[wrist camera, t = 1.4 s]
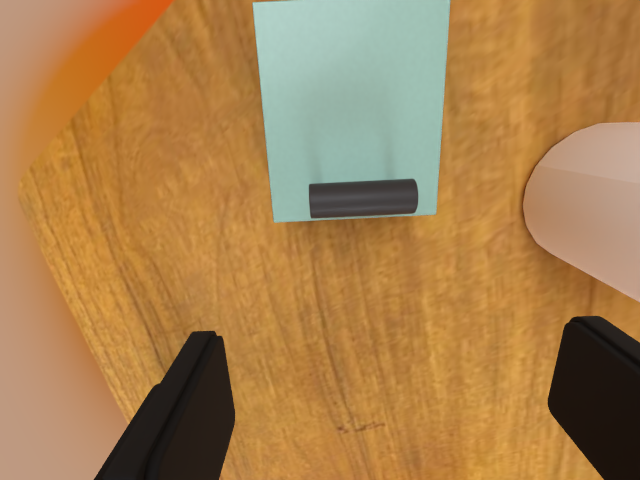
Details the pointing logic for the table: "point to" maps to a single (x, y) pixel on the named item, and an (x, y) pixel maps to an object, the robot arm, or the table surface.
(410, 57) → the lid
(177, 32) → the table surface
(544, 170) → the can
